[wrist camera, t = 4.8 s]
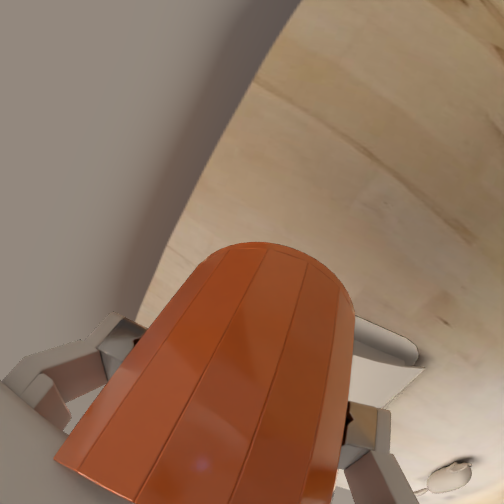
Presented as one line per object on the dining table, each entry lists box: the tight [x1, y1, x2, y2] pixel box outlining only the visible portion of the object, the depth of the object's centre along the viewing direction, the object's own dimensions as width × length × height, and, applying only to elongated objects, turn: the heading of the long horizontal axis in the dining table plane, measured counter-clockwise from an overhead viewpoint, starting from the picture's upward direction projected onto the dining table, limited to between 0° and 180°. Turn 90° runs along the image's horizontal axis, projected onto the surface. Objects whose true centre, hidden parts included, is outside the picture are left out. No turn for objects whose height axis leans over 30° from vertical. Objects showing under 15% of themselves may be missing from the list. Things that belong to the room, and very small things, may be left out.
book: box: [349, 316, 425, 408], centre depth 32 cm, size 15×23×4 cm, turn 161°
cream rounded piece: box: [413, 462, 472, 496], centre depth 35 cm, size 6×5×12 cm
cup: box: [53, 242, 355, 504], centre depth 10 cm, size 10×7×8 cm, turn 168°
